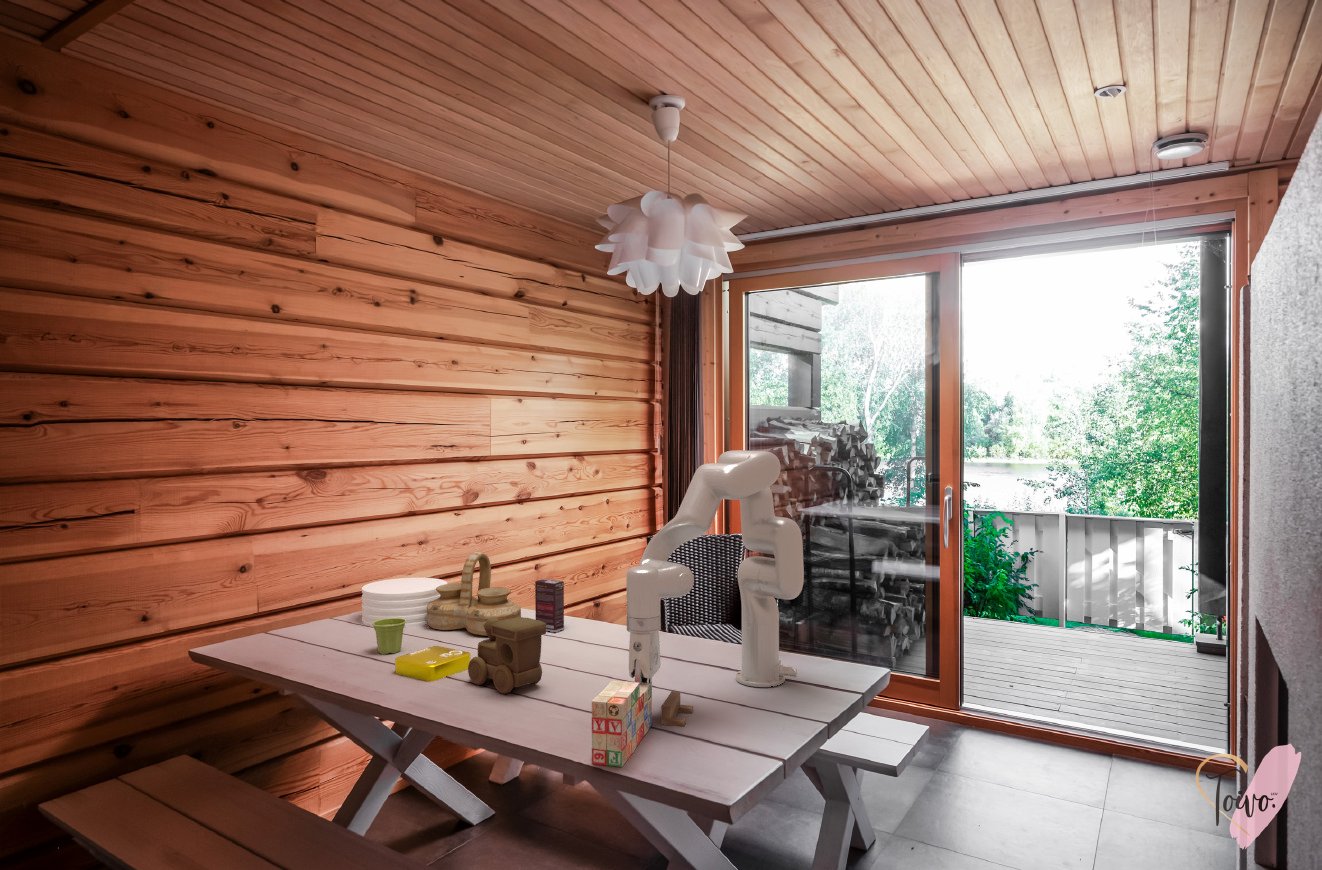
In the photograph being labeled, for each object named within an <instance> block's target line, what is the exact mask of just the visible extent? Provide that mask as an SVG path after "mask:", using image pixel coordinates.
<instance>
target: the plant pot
mask: <svg viewBox="0 0 1322 870" xmlns="http://www.w3.org/2000/svg"><path fill="white" fill-rule="evenodd" d="M405 623H406V620H405V619H401V618H389V619H382V620H378V621H375V622H373V623H372V625H373V626H374V627H373V629H374V631H375V636H376V643H377V644H376V645H377V651H378V653H379V654H383V655H388V654H390V653H391V654H396V653H398V652H401V651H402V650H401V649H402V643H403V635H404V626H405Z"/></svg>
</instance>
